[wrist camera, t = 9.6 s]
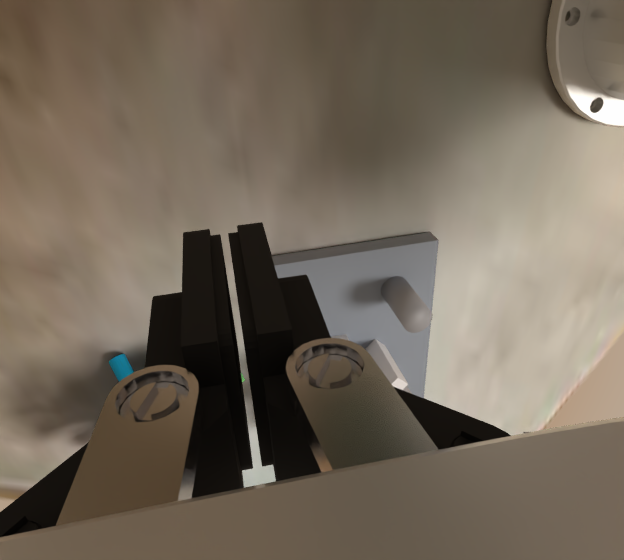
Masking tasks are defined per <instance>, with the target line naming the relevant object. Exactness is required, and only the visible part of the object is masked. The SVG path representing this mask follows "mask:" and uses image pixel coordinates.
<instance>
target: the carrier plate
mask: <svg viewBox="0 0 624 560" xmlns="http://www.w3.org/2000/svg"><path fill="white" fill-rule="evenodd" d="M437 251H438V239H437V238H436V237H435V236H434V235H433V234H432V233H431V232H427V233H420V234H414V235H407V236H400V237H394V238H387V239H381V240H374V241H368V242H361V243H354V244H348V245H341V246H335V247H328V248H322V249H315V250H308V251H302V252H295V253H289V254H282V255H275V256H272V259H273V263H274V266H275V270H276V273H277V277H278V278H284V277H291V276H298V275H305V274H306V275H307V276H308V278H309V281H310V283H311V286H312V289H313V291H314V294H315V297H316V299H317V302H318V304H319V307H320V310H321V312H322V315H323V318H324V320H325V323H326V326H327V328H328V331H329V334H330V336H331V338H340V339H344V340H348V341H352V342H354V343H356V344H358V345H360V346H362V347H363V348H364V349H365V350H366V351H367V352H368V353H369V354H370V355H371V357H372V358H373V359H374V361H375V362H376V363H377V365H378V366H379V368H380V369H381V370H382V372H383V373H384V375H385V376H386V377H387V379H388V380H389V381H390V383H391V384H392V386H393V387H396V388H398V389H401V390H404V391H406V392H409V393H411V394H414V395H416V396H419V397H421V398H424V388H425V378H426V367H427V357H428V346H429V335H430V325H431V320H432V304H433V293H434V283H435V272H436V261H437Z"/></svg>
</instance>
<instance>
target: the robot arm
mask: <svg viewBox="0 0 624 560" xmlns="http://www.w3.org/2000/svg"><path fill="white" fill-rule="evenodd" d="M546 48H547V57H548V66H549V70H550V73H551V77H552V80H553V83H554V86H555V88H556V90H557V91H558V93H559V95H560V96H561V98H562V100H563V101H564V102H565V103H566V104H567V105H568V106H569V107H570V108H571V109H572V110H573V111H574V112H575V113H577V114H578V115H580V116H582V117H584V118H586V119H587V120H590V121H593V122H596V123H599V124H602V125H606V126H615V127H624V0H552V5H551V9H550V14H549V19H548V26H547V43H546ZM237 228H238V232H236V233H228V235H229V242H230V249H231V256H232V263H233V269H234V276H235V283H236V290H237V297H238V304H239V311H240V318H241V325H242V332H243V339H244V345H245V352H246V359H247V366H248V373H249V380H250V386H251V393H252V400H253V407H254V414H255V420H256V427H257V434H258V441H259V448H260V455H261V461H262V466H267V465H272V464H273V465H274V471H275V477H276V482H271V483H266V484H261V485H256V486H251V487H246V488H244V486H243V476H242V470H247V469H252V468H253V465H252V457H251V449H250V441H249V433H248V425H247V417H246V409H245V401H244V393H243V385H242V377H241V370H240V362H239V354H238V346H237V339H236V333H235V326H234V320H233V313H232V307H231V300H230V294H229V288H228V281H227V275H226V268H225V262H224V255H223V249H222V243H221V236H220V235H213V236H211V235H210V230H209V229H207V230H199V231H192V232H184V233H183V273H182V292H180V293H173V294H167V295H160V296H154V297H153V300H152V307H151V317H150V326H149V335H148V344H147V354H146V363H145V368H144V369H141V370H138V371H136V372H133V373H132V374H130V375H128V376H127V377H125V378H123V379H122V380H121V381H120V382H119V383H118V384H116V385H115V386H114V387H113V388H112V390H111V392H110V393H109V395H108V396H107V398H106V400H105V403H104V405H103V408H102V410H101V413H100V416H99V418H98V421H97V423H96V426H95V428H94V431H93V433H92V436H91V438H90V441H89V442H88V443H87V444H86V445H85V446H83V447H82V448H81V449H80V450H78V451H77V452H76V453H75V454H73V455H72V456H71V457H70V458H68V459H67V460H66V461H64V462H63V463H62V464H61V465H59V466H58V467H57V468H56V469H54V470H53V471H52V472H51V473H49V474H48V475H47V476H46V477H44V478H43V479H42V480H40V481H39V482H38V483H37V484H35V485H34V486H33V487H32V488H30V489H29V490H28V491H27V492H25V493H24V494H23V495H22V496H20V497H19V498H18V499H17V500H15V501H14V502H13V503H11V504H10V505H9V506H8V507H6V508H5V509H4V510H3V511H1V512H0V560H624V417H620V418H614V419H607V420H601V421H595V422H588V423H581V424H575V425H568V426H562V427H555V428H550V429H545V430H540V431H535V432H523V434H519V435H514V436H510V435H509V434H508V433H506V432H505V431H503V430H501V429H499V428H497V427H495V426H493V425H490V424H488V423H485V422H483V421H480V420H478V419H475V418H472V417H470V416H467V415H465V414H462V413H460V412H457V411H455V410H452V409H449V408H447V407H444V406H442V405H439V404H437V403H434V402H432V401H429V400H427V399H424V398H421V397H419V396H416V395H414V394H411V393H409V392H406V391H404V390H401V389H398V388H396V387H393V386H392V384H391V383H390V381H389V380H388V379H387V377H386V376H385V375H384V373H383V372H382V370H381V369H380V368H379V366H378V365H377V363H376V362H375V361H374V359H373V358H372V357H371V355H370V354H369V353H368V352H367V351H366V350H365V349H364V348H363V347H362V346H360V345H358V344H356V343H354V342H352V341H348V340H344V339H340V338H331V336H330V334H329V331H328V328H327V326H326V323H325V320H324V318H323V315H322V312H321V310H320V307H319V304H318V302H317V299H316V297H315V294H314V291H313V289H312V286H311V283H310V281H309V278H308V276H307V275H306V274H305V275H298V276H291V277H284V278H278V277H277V273H276V270H275V266H274V263H273V259H272V255H271V252H270V248H269V245H268V241H267V238H266V234H265V231H264V227H263V224H262V223H254V224H246V225H238V226H237Z"/></svg>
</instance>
